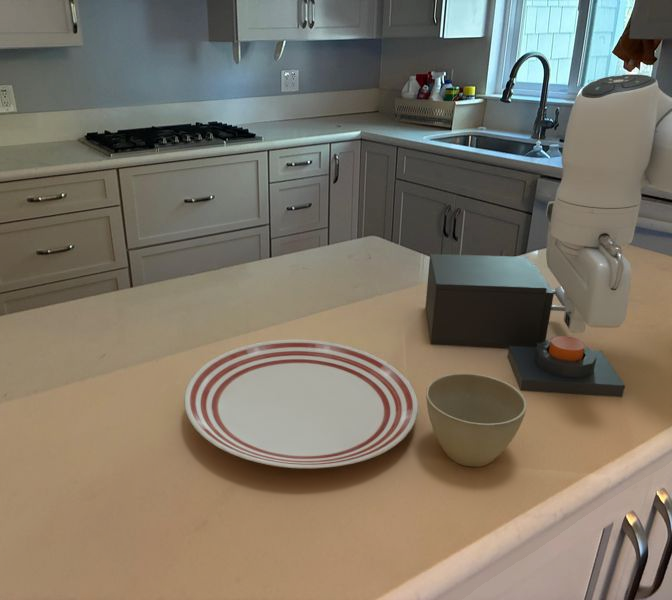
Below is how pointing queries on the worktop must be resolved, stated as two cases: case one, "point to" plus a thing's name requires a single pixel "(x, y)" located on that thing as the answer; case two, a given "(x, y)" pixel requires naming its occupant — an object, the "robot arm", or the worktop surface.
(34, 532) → the worktop surface
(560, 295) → the drawer
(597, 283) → the robot arm
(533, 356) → the control pad
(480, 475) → the worktop surface
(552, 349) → the button
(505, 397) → the olive beige bowl
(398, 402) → the dinner plate
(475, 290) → the dark grey box
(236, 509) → the worktop surface
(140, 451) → the worktop surface
